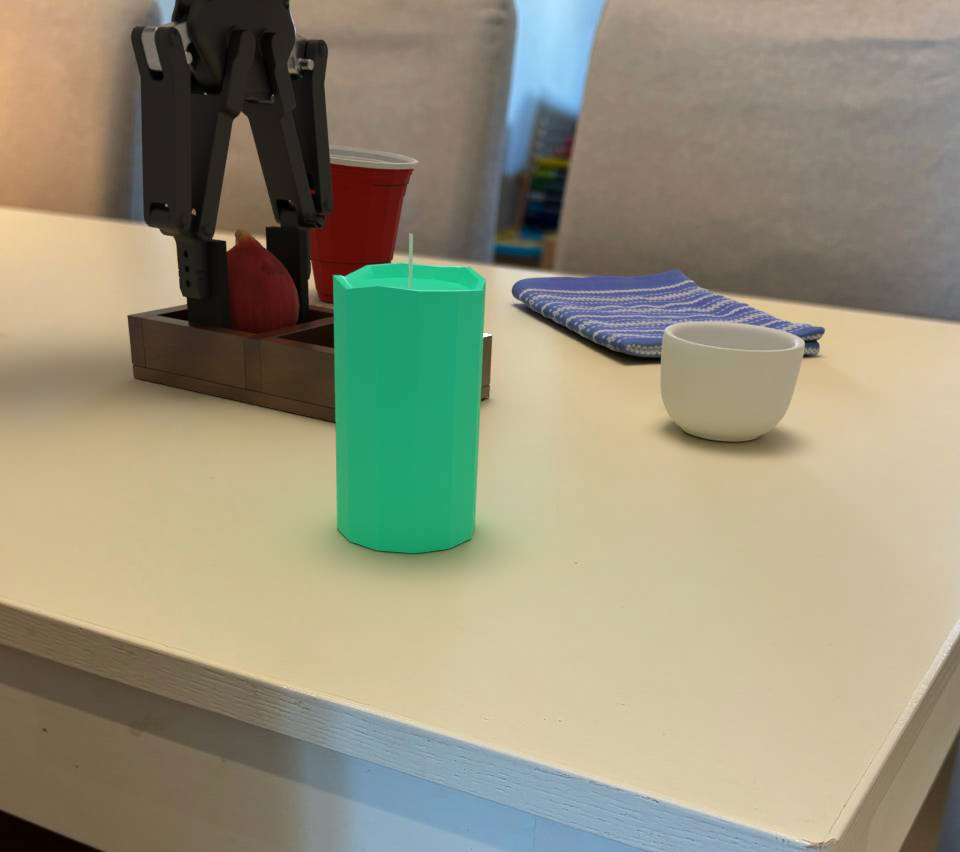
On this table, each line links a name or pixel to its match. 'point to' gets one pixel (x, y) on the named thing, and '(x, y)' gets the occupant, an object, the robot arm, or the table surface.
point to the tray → (248, 360)
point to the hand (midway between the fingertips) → (252, 342)
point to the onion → (259, 288)
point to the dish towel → (642, 309)
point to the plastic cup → (359, 213)
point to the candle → (408, 404)
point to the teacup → (728, 378)
